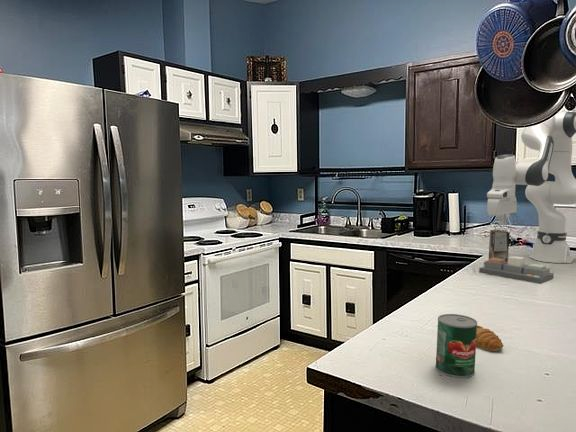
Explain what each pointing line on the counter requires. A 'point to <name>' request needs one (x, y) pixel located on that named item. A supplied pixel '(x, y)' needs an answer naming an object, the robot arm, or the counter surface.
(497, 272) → the keypad base
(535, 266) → the key sage
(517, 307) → the counter surface
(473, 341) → the canned tomato
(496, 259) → the key rust
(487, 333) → the pastry
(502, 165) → the robot arm
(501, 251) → the coffee box
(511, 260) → the key cream
